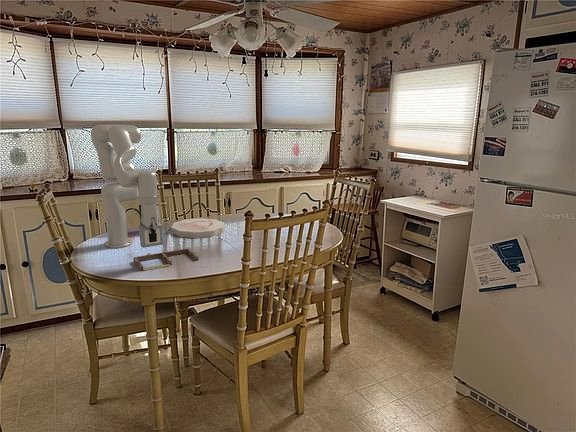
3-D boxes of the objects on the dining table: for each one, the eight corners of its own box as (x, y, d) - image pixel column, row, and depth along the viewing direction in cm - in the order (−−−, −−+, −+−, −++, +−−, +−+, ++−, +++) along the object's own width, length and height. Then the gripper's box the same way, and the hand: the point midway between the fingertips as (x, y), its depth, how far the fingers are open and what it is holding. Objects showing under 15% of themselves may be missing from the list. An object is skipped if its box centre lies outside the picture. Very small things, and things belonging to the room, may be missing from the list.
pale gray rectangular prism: (140, 245, 180) (138, 225, 178) (160, 242, 185) (159, 223, 183) (142, 247, 177) (141, 228, 174) (163, 244, 181) (162, 225, 179)
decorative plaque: (160, 226, 230) (197, 216, 255) (160, 232, 231) (197, 221, 256) (200, 235, 215) (235, 223, 240) (200, 241, 216) (235, 229, 241)
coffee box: (139, 232, 229) (137, 205, 225) (146, 229, 235) (144, 202, 231) (154, 234, 227) (152, 206, 223) (160, 231, 233) (158, 203, 229)
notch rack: (133, 261, 185) (133, 255, 185) (188, 251, 199) (188, 246, 198) (141, 271, 174) (140, 265, 173) (199, 260, 188) (198, 255, 187)
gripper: (135, 197, 181) (138, 237, 185) (144, 204, 167) (148, 246, 171) (152, 196, 185) (155, 234, 189) (163, 202, 171) (165, 244, 175)
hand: (151, 239), depth 180 cm, fingers closed on pale gray rectangular prism, 4 cm apart
